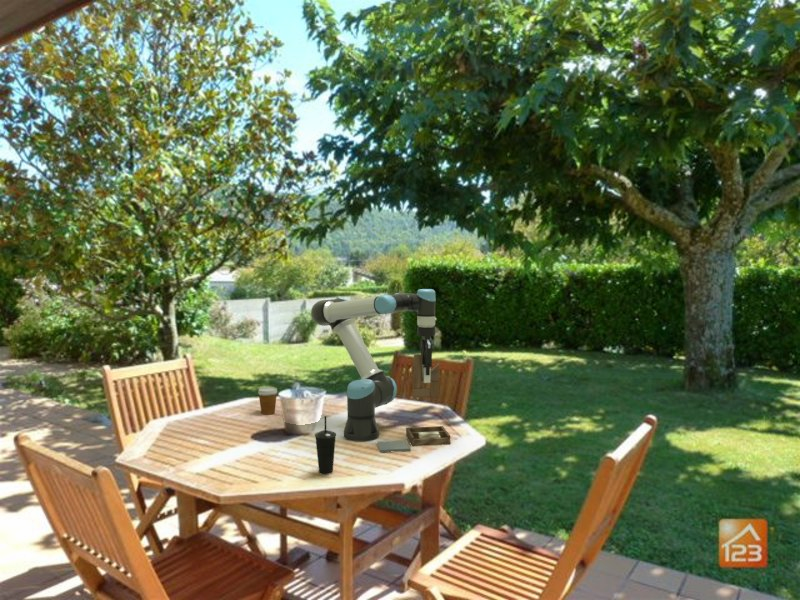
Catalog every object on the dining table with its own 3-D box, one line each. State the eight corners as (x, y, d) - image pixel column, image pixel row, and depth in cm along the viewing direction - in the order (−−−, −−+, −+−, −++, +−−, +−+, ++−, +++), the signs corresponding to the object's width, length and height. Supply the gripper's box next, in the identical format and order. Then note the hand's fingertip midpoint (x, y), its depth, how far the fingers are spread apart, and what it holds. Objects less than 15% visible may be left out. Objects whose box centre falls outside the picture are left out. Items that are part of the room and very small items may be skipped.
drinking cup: (337, 467, 211) (337, 413, 210) (335, 475, 204) (335, 419, 202) (316, 468, 211) (315, 413, 210) (313, 475, 203) (313, 419, 202)
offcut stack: (419, 444, 238) (419, 434, 238) (417, 442, 241) (417, 432, 241) (440, 443, 239) (440, 433, 239) (439, 441, 243) (439, 431, 242)
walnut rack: (411, 446, 236) (411, 437, 235) (406, 435, 250) (406, 427, 249) (450, 444, 238) (450, 435, 238) (442, 434, 252) (442, 426, 252)
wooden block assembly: (438, 398, 244) (439, 355, 243) (413, 397, 244) (413, 355, 243) (438, 396, 248) (438, 354, 246) (413, 395, 248) (413, 353, 247)
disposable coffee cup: (254, 413, 287) (254, 389, 286) (271, 409, 293) (271, 386, 292) (264, 417, 280) (263, 392, 279) (281, 413, 286) (281, 389, 285)
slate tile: (380, 452, 228) (380, 450, 228) (377, 443, 239) (377, 441, 239) (410, 451, 230) (410, 448, 230) (406, 442, 240) (406, 440, 240)
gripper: (439, 328, 236) (439, 385, 237) (430, 323, 253) (430, 377, 254) (421, 328, 235) (421, 386, 236) (413, 324, 251) (413, 377, 253)
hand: (425, 381), depth 245 cm, fingers closed on wooden block assembly, 4 cm apart
